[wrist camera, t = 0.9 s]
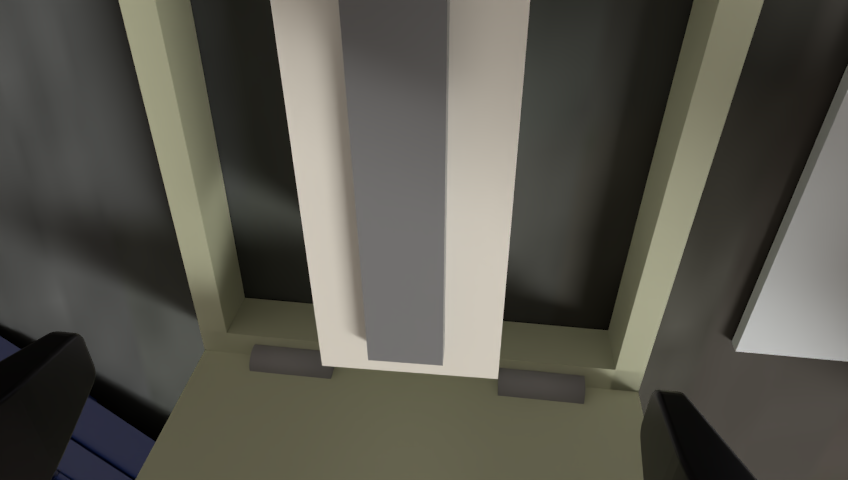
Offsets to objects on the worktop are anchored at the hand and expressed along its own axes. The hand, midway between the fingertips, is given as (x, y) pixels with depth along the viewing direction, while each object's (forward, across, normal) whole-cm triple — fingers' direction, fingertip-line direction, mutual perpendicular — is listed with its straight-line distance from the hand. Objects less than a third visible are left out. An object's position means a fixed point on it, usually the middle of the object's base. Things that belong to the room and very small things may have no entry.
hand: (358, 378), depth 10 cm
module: (+12, 0, 0) cm, 12 cm away
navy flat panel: (+12, +15, +29) cm, 35 cm away
